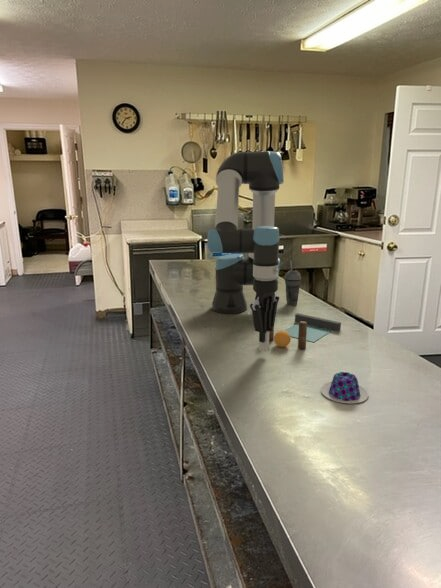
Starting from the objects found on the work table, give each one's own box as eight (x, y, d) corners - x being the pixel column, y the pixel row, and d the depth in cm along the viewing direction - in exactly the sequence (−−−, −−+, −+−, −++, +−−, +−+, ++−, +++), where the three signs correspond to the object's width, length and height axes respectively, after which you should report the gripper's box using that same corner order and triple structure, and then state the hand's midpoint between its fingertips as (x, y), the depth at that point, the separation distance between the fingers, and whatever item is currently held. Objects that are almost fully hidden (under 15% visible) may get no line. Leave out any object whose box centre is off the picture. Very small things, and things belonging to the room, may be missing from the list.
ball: (281, 337, 149) (273, 348, 146) (277, 325, 146) (269, 336, 143) (295, 341, 145) (286, 352, 142) (291, 328, 142) (283, 339, 139)
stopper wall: (294, 321, 169) (295, 314, 168) (297, 320, 170) (297, 313, 169) (338, 331, 158) (338, 323, 157) (340, 330, 159) (340, 322, 158)
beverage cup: (300, 307, 187) (301, 261, 182) (283, 306, 189) (284, 261, 184) (300, 302, 194) (302, 258, 189) (284, 301, 196) (285, 258, 190)
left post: (264, 339, 151) (265, 315, 148) (268, 337, 152) (269, 313, 150) (270, 341, 149) (271, 316, 147) (274, 339, 151) (275, 314, 148)
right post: (296, 348, 143) (297, 322, 140) (300, 346, 145) (301, 320, 142) (303, 350, 141) (304, 324, 139) (307, 348, 143) (308, 322, 141)
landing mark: (278, 333, 156) (278, 333, 156) (298, 323, 167) (298, 323, 167) (313, 342, 148) (313, 342, 148) (331, 331, 158) (331, 330, 158)
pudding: (333, 379, 122) (334, 362, 120) (375, 392, 114) (377, 374, 113) (312, 395, 113) (313, 377, 112) (356, 411, 106) (358, 391, 104)
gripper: (263, 284, 123) (262, 360, 130) (287, 275, 133) (285, 347, 139) (242, 280, 128) (242, 354, 134) (267, 272, 138) (265, 341, 144)
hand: (264, 350), depth 137 cm, fingers closed
